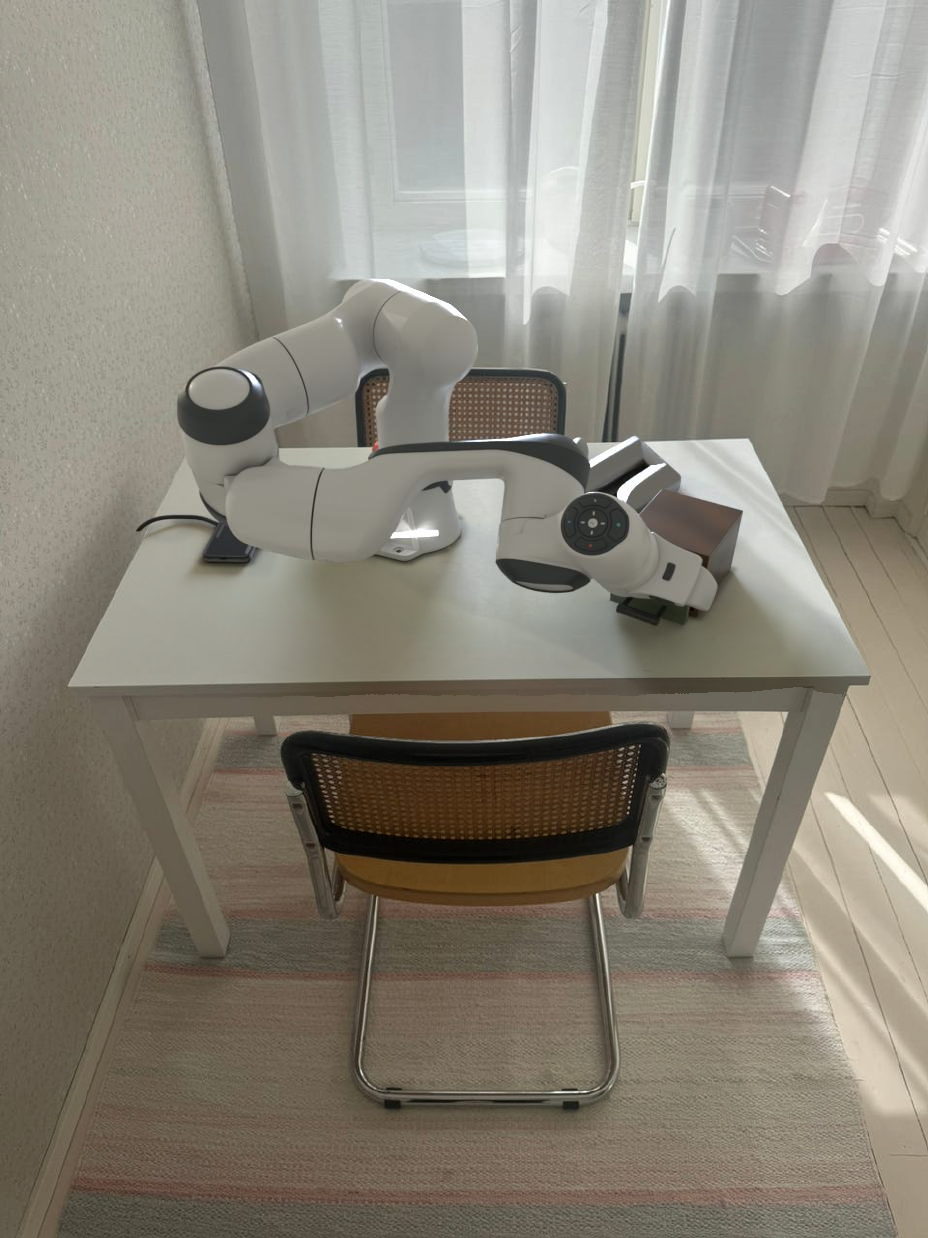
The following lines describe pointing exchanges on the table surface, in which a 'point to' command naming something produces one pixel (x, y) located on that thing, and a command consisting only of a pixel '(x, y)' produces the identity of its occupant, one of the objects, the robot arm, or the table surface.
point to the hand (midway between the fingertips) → (648, 584)
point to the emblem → (630, 473)
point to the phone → (227, 547)
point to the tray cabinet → (696, 529)
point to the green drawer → (651, 610)
